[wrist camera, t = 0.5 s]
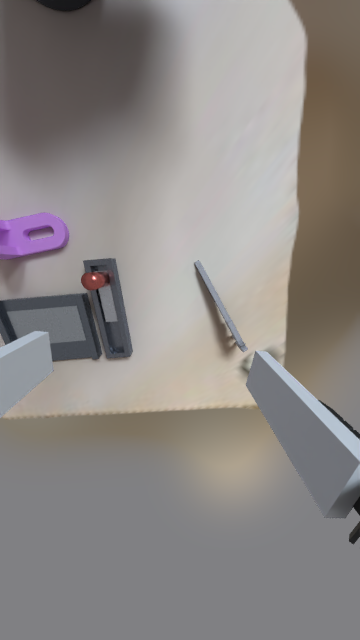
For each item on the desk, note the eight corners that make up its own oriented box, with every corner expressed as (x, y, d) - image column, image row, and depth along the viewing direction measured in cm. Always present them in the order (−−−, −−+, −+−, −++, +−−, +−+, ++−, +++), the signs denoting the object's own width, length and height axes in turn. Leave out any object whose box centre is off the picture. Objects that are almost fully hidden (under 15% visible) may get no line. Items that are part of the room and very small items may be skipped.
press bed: (-2, 300, 34) (-14, 302, 32) (86, 292, 34) (81, 294, 32) (23, 360, 39) (15, 366, 37) (102, 353, 39) (98, 358, 37)
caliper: (239, 340, 39) (251, 354, 33) (235, 343, 39) (246, 356, 33) (198, 260, 34) (203, 259, 28) (193, 263, 34) (198, 262, 28)
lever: (95, 271, 32) (78, 272, 27) (110, 270, 32) (96, 271, 27) (106, 320, 36) (94, 331, 30) (120, 319, 36) (109, 329, 30)
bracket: (8, 259, 32) (-35, 258, 26) (-8, 227, 30) (-58, 216, 24) (74, 245, 32) (48, 240, 25) (62, 212, 30) (30, 197, 24)
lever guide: (89, 260, 33) (83, 260, 30) (115, 258, 33) (110, 258, 30) (111, 352, 39) (107, 358, 37) (132, 351, 39) (130, 356, 37)
